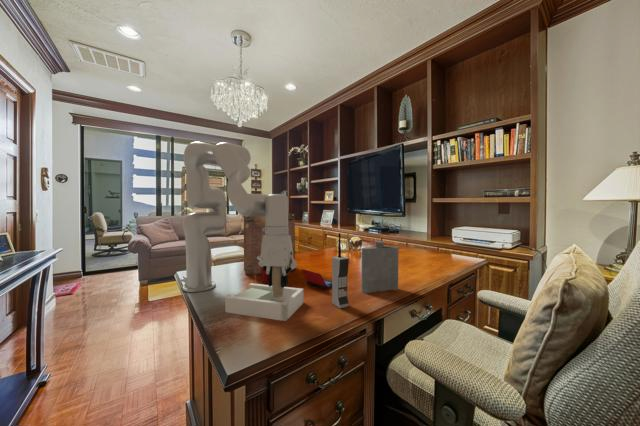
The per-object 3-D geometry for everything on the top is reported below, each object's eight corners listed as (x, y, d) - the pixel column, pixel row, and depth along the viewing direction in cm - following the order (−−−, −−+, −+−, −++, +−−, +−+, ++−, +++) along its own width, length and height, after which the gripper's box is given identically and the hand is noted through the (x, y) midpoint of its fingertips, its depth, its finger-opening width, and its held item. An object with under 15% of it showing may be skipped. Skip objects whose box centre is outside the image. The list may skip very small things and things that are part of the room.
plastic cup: (253, 285, 110) (253, 258, 110) (262, 278, 121) (262, 253, 120) (278, 286, 109) (277, 258, 108) (284, 279, 119) (284, 253, 119)
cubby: (225, 312, 83) (225, 297, 83) (251, 296, 98) (250, 283, 97) (285, 321, 77) (285, 304, 77) (303, 302, 91) (303, 288, 91)
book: (244, 275, 126) (244, 214, 125) (243, 270, 135) (243, 213, 134) (295, 270, 135) (294, 213, 134) (291, 266, 144) (290, 213, 142)
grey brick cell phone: (339, 309, 86) (339, 234, 85) (332, 303, 90) (332, 233, 89) (349, 306, 87) (349, 233, 86) (341, 301, 92) (341, 232, 91)
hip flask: (363, 293, 100) (363, 242, 100) (359, 290, 104) (359, 241, 103) (399, 290, 104) (400, 241, 103) (394, 286, 108) (394, 239, 107)
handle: (287, 298, 84) (287, 252, 83) (267, 299, 83) (267, 253, 82) (287, 293, 89) (287, 250, 88) (268, 294, 88) (268, 251, 87)
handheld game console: (339, 286, 109) (339, 269, 109) (320, 292, 102) (320, 274, 102) (319, 280, 119) (319, 264, 118) (300, 285, 111) (300, 268, 111)
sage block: (233, 308, 87) (233, 295, 87) (251, 299, 95) (251, 287, 95) (254, 313, 83) (254, 300, 83) (271, 304, 91) (271, 291, 91)
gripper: (248, 232, 84) (249, 287, 85) (295, 233, 79) (296, 291, 80) (260, 229, 91) (261, 280, 92) (304, 230, 86) (305, 284, 87)
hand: (277, 285), depth 86 cm, fingers closed on handle, 4 cm apart
